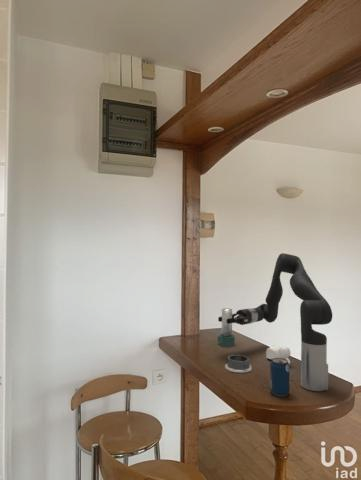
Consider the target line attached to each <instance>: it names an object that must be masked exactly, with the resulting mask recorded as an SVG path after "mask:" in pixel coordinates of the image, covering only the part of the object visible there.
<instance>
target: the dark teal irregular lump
mask: <svg viewBox="0 0 361 480" xmlns="http://www.w3.org/2000/svg"><path fill="white" fill-rule="evenodd" d="M235 337H236V336H235V334H233V333H232V335H230V336H225V335H222V333H219V335H218V336H217V342H218V345H219V346H221V347H224V348H232V347H234V346H235V345H236V344H235V339H236V338H235Z"/></svg>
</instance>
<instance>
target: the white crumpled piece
mask: <svg viewBox="0 0 361 480" xmlns="http://www.w3.org/2000/svg"><path fill="white" fill-rule="evenodd" d="M265 356H266V359H267V360H268V359H269V360H272V359H273V358H282V359H286V360H288V364H289V365H290V364H291V360H290V359H289V357H291V350H290V347H288V346H285V345H282V346H278V345H271V346H270V347H267V348H266V351H265Z"/></svg>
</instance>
